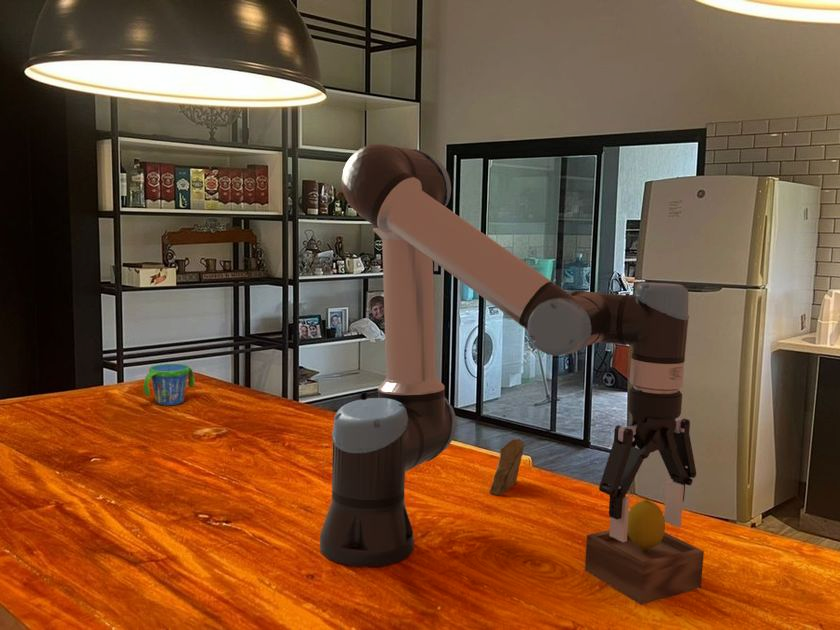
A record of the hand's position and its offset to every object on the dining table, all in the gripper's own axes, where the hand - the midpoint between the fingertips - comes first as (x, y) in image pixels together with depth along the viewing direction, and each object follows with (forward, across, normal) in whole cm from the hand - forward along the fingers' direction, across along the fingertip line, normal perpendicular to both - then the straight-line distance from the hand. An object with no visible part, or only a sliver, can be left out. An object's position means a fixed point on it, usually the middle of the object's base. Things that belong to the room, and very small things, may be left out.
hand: (645, 531), depth 119 cm
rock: (+8, +7, +43) cm, 44 cm away
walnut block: (+8, 0, 0) cm, 8 cm away
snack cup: (+8, -32, +141) cm, 145 cm away
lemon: (+3, 0, 0) cm, 3 cm away
